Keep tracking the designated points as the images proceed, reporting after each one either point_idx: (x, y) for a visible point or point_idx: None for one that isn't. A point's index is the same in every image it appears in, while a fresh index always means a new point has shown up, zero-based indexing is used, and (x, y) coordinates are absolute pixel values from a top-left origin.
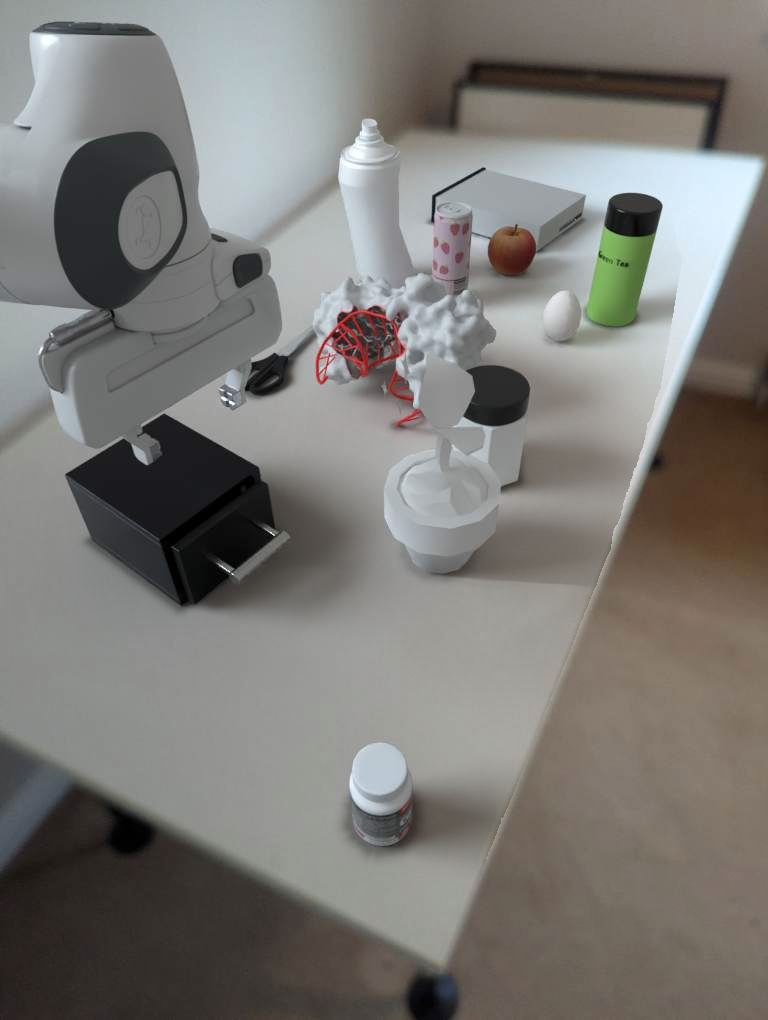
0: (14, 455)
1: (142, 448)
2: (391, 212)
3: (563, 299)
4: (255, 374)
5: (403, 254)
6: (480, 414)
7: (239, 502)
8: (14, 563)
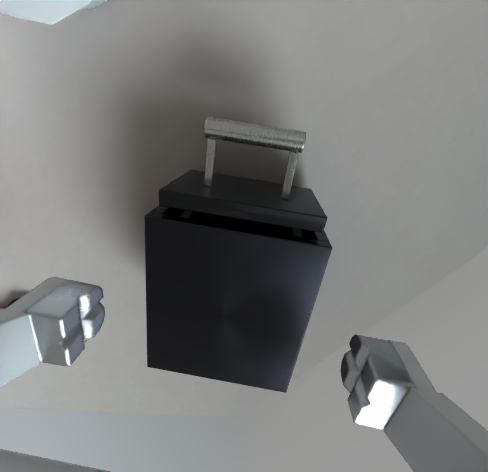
0: (237, 413)
1: (448, 402)
2: None
3: None
4: None
5: None
6: None
7: (210, 203)
8: (330, 350)
